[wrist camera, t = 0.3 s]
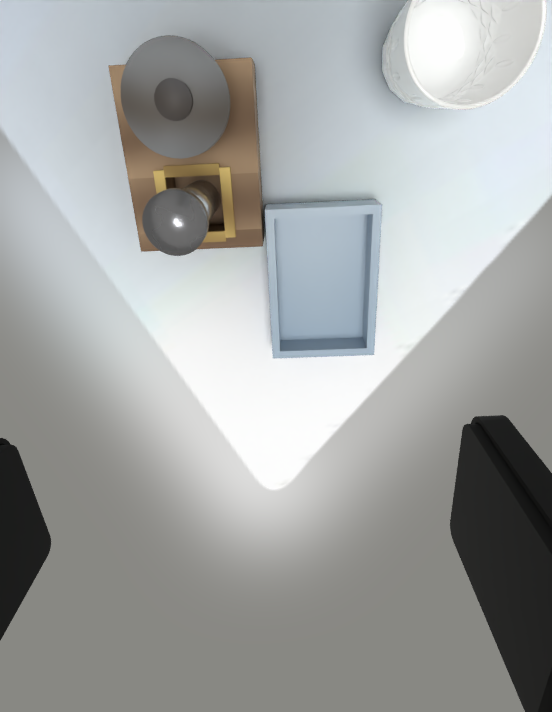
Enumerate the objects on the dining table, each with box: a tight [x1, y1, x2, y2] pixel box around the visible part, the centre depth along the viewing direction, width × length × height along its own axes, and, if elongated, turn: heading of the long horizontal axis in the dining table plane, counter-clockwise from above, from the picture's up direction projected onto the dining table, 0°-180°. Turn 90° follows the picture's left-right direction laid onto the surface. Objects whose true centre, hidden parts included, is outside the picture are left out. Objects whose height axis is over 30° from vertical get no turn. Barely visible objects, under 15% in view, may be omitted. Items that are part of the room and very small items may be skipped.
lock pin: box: [142, 180, 220, 256], centre depth 34 cm, size 4×4×11 cm
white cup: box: [382, 0, 547, 110], centre depth 30 cm, size 8×8×10 cm
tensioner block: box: [109, 36, 264, 251], centre depth 35 cm, size 14×10×8 cm
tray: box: [265, 199, 382, 358], centre depth 41 cm, size 13×9×3 cm
